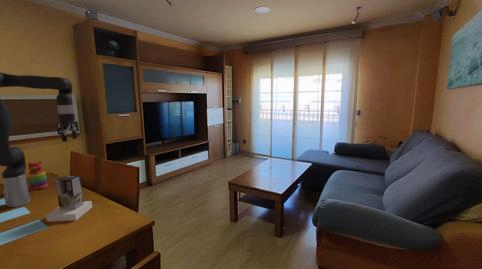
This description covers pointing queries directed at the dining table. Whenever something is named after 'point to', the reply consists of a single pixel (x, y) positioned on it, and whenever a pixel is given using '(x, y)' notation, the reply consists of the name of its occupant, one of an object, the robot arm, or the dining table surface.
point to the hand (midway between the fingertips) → (70, 140)
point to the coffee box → (69, 192)
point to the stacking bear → (36, 177)
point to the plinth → (68, 213)
